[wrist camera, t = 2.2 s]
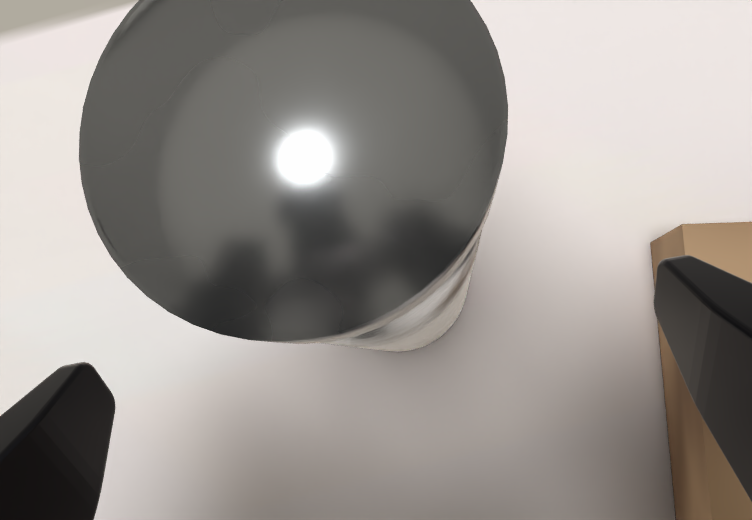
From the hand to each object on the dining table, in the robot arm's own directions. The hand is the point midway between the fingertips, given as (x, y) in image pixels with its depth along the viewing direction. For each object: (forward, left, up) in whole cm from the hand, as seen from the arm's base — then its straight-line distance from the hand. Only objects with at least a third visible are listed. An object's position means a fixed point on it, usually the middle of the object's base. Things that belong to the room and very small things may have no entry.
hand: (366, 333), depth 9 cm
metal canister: (+2, 0, -10) cm, 10 cm away
